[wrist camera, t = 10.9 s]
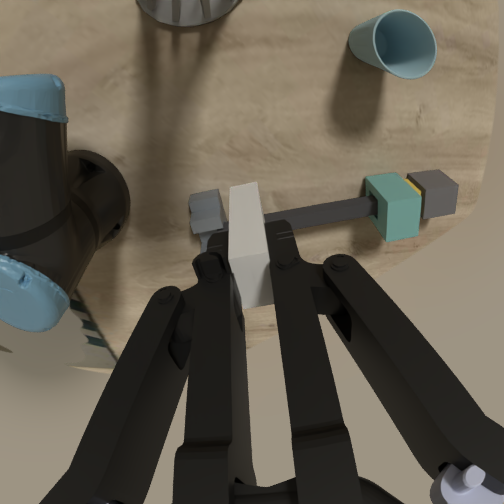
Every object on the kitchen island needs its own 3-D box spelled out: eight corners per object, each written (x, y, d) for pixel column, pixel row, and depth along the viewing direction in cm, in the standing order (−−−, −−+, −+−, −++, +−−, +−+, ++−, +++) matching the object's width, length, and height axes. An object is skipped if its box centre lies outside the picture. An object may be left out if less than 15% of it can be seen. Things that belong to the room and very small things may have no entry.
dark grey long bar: (223, 237, 46) (222, 255, 43) (215, 212, 44) (214, 228, 40) (436, 199, 44) (450, 213, 40) (438, 174, 41) (453, 186, 38)
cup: (404, 41, 31) (448, 44, 23) (375, 81, 35) (414, 93, 26) (360, 5, 29) (396, -5, 20) (329, 47, 32) (359, 47, 24)
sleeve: (366, 212, 46) (386, 242, 40) (365, 176, 43) (387, 202, 36) (395, 207, 46) (417, 235, 39) (395, 172, 42) (421, 196, 36)
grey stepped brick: (209, 251, 49) (207, 272, 45) (190, 194, 43) (185, 211, 39) (234, 247, 49) (234, 267, 45) (218, 188, 43) (216, 205, 39)
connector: (406, 201, 45) (423, 219, 41) (407, 173, 43) (425, 189, 38) (436, 196, 45) (454, 213, 40) (439, 169, 42) (458, 184, 38)
